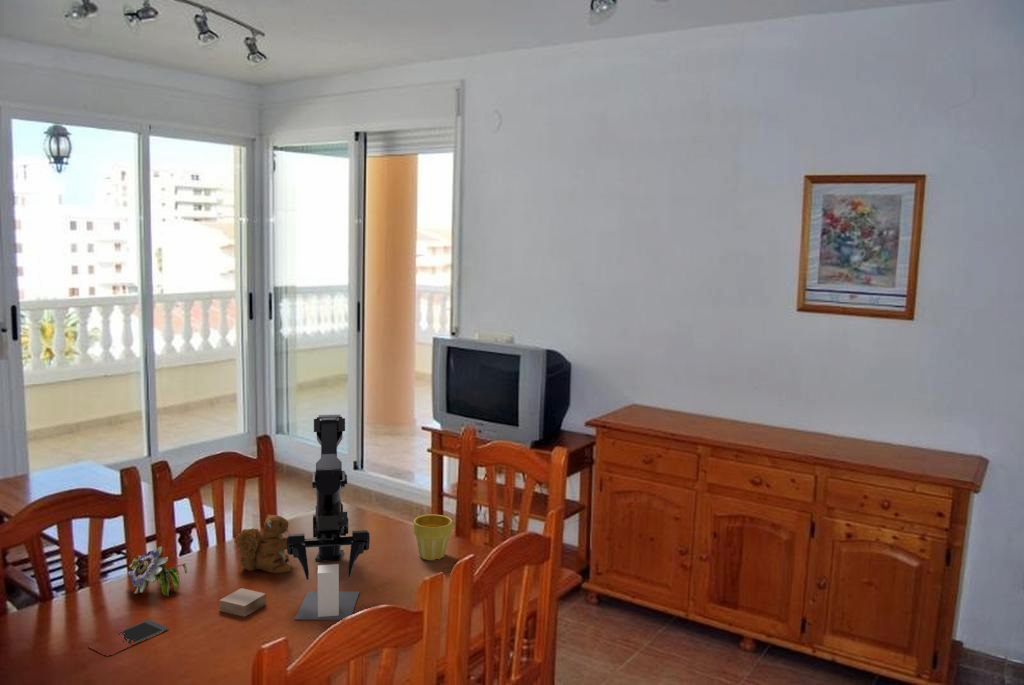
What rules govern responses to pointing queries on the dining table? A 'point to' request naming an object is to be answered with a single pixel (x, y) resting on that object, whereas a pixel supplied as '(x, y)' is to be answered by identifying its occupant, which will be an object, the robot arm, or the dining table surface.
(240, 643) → the dining table surface
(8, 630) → the dining table surface
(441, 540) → the plant pot
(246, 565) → the stuffed squirrel
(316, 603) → the charcoal mat
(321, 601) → the cream pillar
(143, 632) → the cell phone
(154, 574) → the passion flower
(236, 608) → the grey square slab
